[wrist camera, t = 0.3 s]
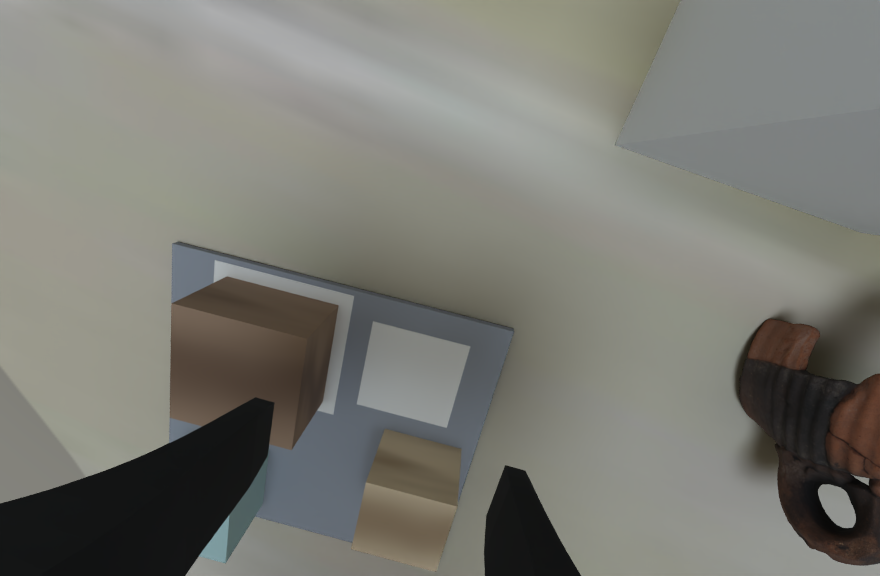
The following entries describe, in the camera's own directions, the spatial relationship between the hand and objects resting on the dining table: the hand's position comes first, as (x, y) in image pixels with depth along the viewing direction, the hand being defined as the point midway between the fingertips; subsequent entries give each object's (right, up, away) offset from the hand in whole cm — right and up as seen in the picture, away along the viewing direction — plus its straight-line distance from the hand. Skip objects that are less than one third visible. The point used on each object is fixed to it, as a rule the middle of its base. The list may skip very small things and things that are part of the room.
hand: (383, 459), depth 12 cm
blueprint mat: (-5, -2, +12) cm, 13 cm away
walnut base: (-7, +2, +10) cm, 12 cm away
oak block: (0, -5, +12) cm, 13 cm away
